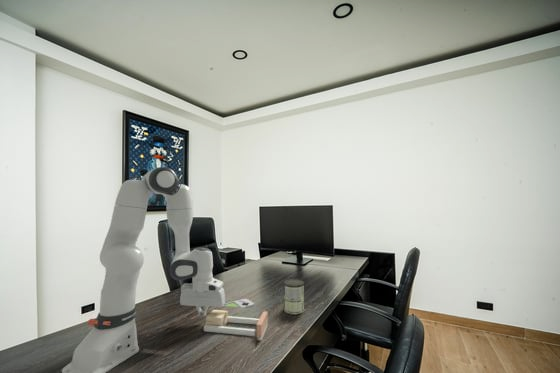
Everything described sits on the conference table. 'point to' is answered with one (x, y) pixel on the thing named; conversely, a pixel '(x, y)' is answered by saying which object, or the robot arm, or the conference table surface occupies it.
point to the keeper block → (217, 318)
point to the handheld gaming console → (240, 303)
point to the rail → (260, 323)
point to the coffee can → (293, 296)
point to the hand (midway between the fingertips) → (202, 315)
